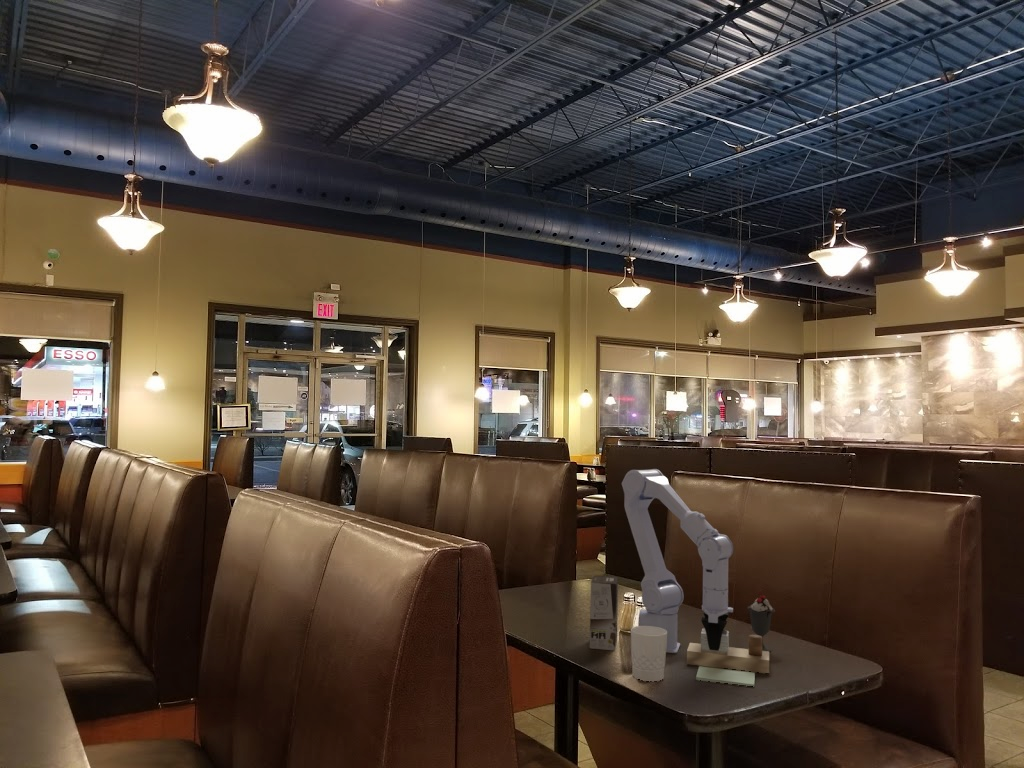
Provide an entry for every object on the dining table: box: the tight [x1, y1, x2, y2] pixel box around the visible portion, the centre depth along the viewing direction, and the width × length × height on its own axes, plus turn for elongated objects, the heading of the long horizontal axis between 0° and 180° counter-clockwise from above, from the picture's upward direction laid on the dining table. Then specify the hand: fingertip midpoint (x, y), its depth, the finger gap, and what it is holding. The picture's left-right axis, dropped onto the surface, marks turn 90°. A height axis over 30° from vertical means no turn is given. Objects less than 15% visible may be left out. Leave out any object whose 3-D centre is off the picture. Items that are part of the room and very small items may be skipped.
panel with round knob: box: [686, 634, 770, 674], centre depth 176 cm, size 18×7×7 cm, turn 71°
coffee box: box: [589, 575, 619, 651], centre depth 189 cm, size 9×6×16 cm
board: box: [695, 665, 756, 688], centre depth 166 cm, size 12×8×1 cm, turn 71°
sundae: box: [746, 589, 776, 653], centre depth 188 cm, size 7×7×15 cm
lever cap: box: [700, 627, 730, 654], centre depth 177 cm, size 6×4×5 cm
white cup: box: [630, 625, 667, 683], centre depth 166 cm, size 8×8×10 cm
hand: (714, 646), depth 177 cm, fingers closed on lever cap, 4 cm apart
